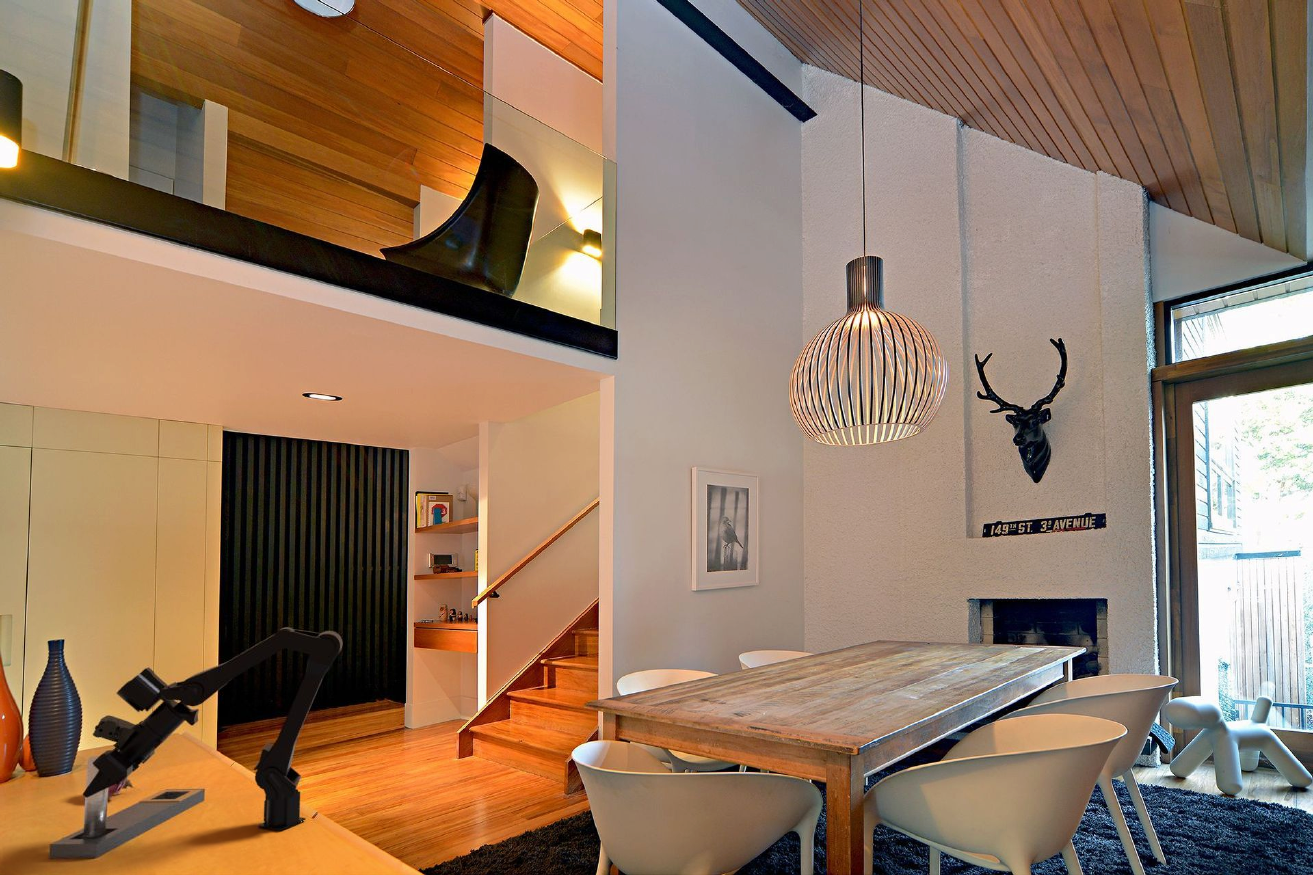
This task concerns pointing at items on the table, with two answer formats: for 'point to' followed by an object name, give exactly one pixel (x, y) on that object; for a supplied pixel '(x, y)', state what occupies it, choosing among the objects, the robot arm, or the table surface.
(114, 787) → the flower
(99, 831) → the peg
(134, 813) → the rail
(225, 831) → the table surface
